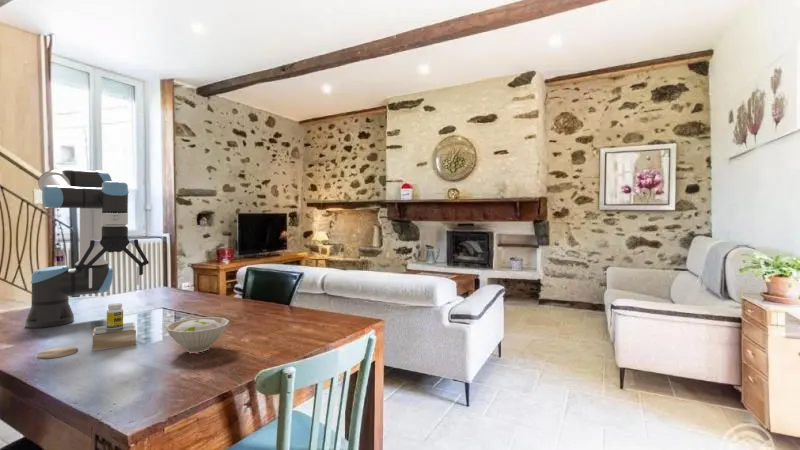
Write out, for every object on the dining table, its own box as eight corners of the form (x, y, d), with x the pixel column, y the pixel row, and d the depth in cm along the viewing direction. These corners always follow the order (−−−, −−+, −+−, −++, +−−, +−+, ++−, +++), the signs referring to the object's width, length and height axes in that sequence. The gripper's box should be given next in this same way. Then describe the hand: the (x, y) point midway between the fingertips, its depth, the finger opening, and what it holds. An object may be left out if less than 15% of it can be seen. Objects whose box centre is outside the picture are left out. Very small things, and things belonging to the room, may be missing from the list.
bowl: (163, 363, 122) (163, 331, 122) (166, 345, 139) (166, 317, 139) (231, 354, 131) (231, 324, 131) (227, 338, 148) (227, 311, 148)
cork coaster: (40, 351, 131) (40, 350, 131) (79, 346, 137) (79, 344, 137) (35, 360, 123) (35, 358, 123) (76, 354, 129) (76, 352, 129)
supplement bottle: (114, 330, 139) (114, 306, 138) (103, 329, 140) (103, 305, 139) (126, 326, 143) (126, 303, 143) (115, 325, 144) (115, 302, 144)
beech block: (94, 341, 143) (94, 326, 143) (134, 336, 150) (134, 322, 150) (92, 350, 133) (92, 334, 133) (135, 344, 140) (135, 329, 140)
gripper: (67, 226, 130) (67, 290, 131) (157, 226, 145) (156, 284, 145) (70, 225, 137) (70, 287, 137) (155, 225, 151) (155, 281, 151)
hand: (114, 286), depth 141 cm, fingers open, 13 cm apart
